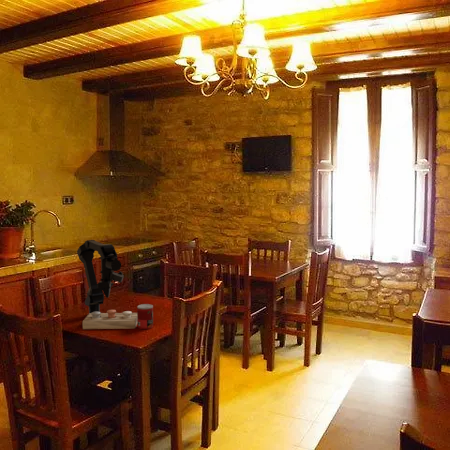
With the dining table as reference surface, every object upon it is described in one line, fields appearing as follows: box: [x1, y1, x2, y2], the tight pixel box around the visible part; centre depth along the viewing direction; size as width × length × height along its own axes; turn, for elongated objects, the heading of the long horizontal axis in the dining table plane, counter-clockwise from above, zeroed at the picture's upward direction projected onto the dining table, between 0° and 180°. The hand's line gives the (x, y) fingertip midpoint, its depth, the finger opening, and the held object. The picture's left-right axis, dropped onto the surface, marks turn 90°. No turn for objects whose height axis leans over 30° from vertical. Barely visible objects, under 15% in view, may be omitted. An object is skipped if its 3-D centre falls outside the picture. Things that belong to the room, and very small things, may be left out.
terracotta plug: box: [106, 309, 117, 318], centre depth 234 cm, size 5×5×6 cm
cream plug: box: [122, 310, 133, 318], centre depth 235 cm, size 5×5×6 cm
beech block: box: [82, 312, 138, 330], centre depth 235 cm, size 14×26×4 cm, turn 92°
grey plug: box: [91, 311, 102, 318], centre depth 234 cm, size 5×5×6 cm
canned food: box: [136, 303, 154, 330], centre depth 230 cm, size 8×8×11 cm
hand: (107, 297), depth 238 cm, fingers closed
